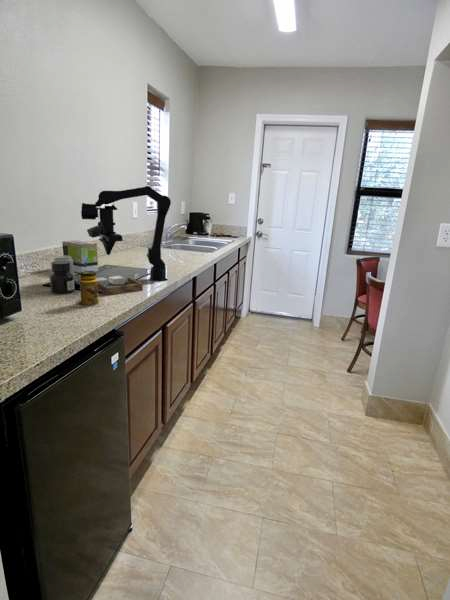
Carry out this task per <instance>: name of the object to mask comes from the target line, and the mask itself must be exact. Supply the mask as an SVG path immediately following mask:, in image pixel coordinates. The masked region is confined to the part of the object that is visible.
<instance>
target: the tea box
mask: <svg viewBox="0 0 450 600" xmlns="http://www.w3.org/2000/svg"><path fill="white" fill-rule="evenodd" d="M62 255H66V256H71V259H72V260H73V269H74V273H79V274H80V273H81V272H83V271H94V272H96V273H97V272H98V271H99V264H98V263H99V260H98V259H99V258H98V243H97V242H93V241H92V242H91V241H87V240H66V241H64V240H63V241H62Z"/></svg>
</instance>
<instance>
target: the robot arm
mask: <svg viewBox="0 0 450 600" xmlns="http://www.w3.org/2000/svg"><path fill="white" fill-rule="evenodd" d="M143 196H147V197H149V198H150V199H152V200H153V201H154V202H156V215H157V216H156V220H155V221H156V222H155V226H154V234H153V238H152V244H151V246H150V247H149V246H148V247H147V254H146V258H147V259H148V260H147V261H148V263H149V264H151V265H152V266H150V272H149V273H150V277H149V279H150V280H152V281H154V282H160V281H168V278H166V277H167V276H166V275H167V270H166V269H167V268H166V263H165V261H164V260H163V259H162V251H161V250H162V249H161V247H162V246H161V245H162V240H163V233H164V228H165V222H166V217H167V215H168V212H169V210H170V207H171V204H172V201H171V199H170V197H169V196H167V195H162V194H161V193H160V192H158V191H156V190H155V189H153V188H152V187H151V186H149V185H146V186H142V187H136V188H131V189H124V190H103V191H100V192H99V194H98V197H97V198H98V200H97V201H95V203H84V202H82V203H81V210H80V213H81V214H80V216H81V219H82V220H94V221H95V220H96V219H97V218H99V221H98V223H97V225H96V226H93V227H90V228H88V229H86V231H87V234H88V236H89V237H91V238H97V237H99V238H98V240H99V241H100V242H101V243H102V245H103V248H104V251H105V254H106V255H107V256H110V255H111V253H112V251H113V249H114V246H115V244H116V242H123V240H124V239H123V236H122V235H121V234H119V233H116V231H115V225H116V222H114V211H117V210H118V207H116V206H115V204H114V203H115V202H118V201H121V200H124V199H131V198H138V197H143ZM109 204H112V205H109ZM103 205H104V207H101V206H103Z"/></svg>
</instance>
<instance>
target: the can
mask: <svg viewBox="0 0 450 600" xmlns="http://www.w3.org/2000/svg"><path fill="white" fill-rule="evenodd" d="M54 261H69V262H70V268H71V269H70V270H71V271H70V272H71V274H73V275H74V276H75V272H74V269H73V260H72V259H71V256H66V255H63V254H62V255H56V256H55V259H53V262H54Z"/></svg>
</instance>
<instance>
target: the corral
mask: <svg viewBox="0 0 450 600" xmlns="http://www.w3.org/2000/svg"><path fill="white" fill-rule="evenodd" d="M126 280H127V281H126V282H127V283H126V284H122V285H114V286H104V285H102V284H100V283H98V290H100V291H101V292H102V293H101V292H100V293H101V294H103V293H104V294H103V295H105V296H113V295H114V296H115V295H118V294H126V293H134V292H142V291H143V283H142V282H140V281H137V280H135V279H133V278H131V277H127V279H126Z"/></svg>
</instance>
